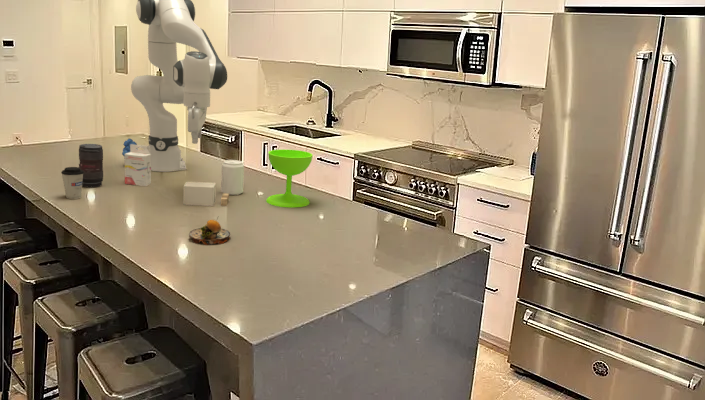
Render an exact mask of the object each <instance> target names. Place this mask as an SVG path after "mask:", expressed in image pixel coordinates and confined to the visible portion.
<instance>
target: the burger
mask: <svg viewBox="0 0 705 400" xmlns="http://www.w3.org/2000/svg"><path fill="white" fill-rule="evenodd" d="M218 219H219V217H217V218H216V220H215V219H209V220H208V221H206V224H205V225H204V226H203V225H202V227H200V228H199V227H198V228H196V229H195V228H194V229H192V230H190V231H189V233H188V235H189V236H188V237H189V238H192V243H193V244H194V243H195V244H197V245H198V244H200V242H201V243H203V245H205V246H209V245H210V246H212V245H213V244H214V245H215V244H219V245H221V244H224V243H225V242H226V243H227V242H228V241H230V240H231V237H230V235H231V232H230V231H229V230H227V229H225V228H222V226H221V224H220V222H218Z"/></svg>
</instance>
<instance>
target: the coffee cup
mask: <svg viewBox="0 0 705 400" xmlns="http://www.w3.org/2000/svg"><path fill="white" fill-rule="evenodd" d="M83 173H84V172H83V170H80V168H79V166H69V167H64V169H63V170H62V171H61V174H62V176H61V177H62V181H63V187H64V192H65V197H66V198H67V199H69V200H76V199H80V198H82V189H83V186H82V181H83Z"/></svg>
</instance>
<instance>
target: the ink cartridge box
mask: <svg viewBox="0 0 705 400" xmlns="http://www.w3.org/2000/svg"><path fill="white" fill-rule="evenodd" d="M151 183H152V170H151V154H150V146H149V145H143V144H137V145H133V144H130V152H129V153H126V154H125V159H124V184H125V185H131V186H132V185H133V186H139V187H147V186H148V185H151Z"/></svg>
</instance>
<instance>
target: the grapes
mask: <svg viewBox="0 0 705 400" xmlns="http://www.w3.org/2000/svg"><path fill="white" fill-rule="evenodd" d="M130 144H133V145H138V144H137V142H136V141H134V140H133V139H132V138H128V139H127V140H125V141H123V148H122V153H121V155H122V156H123V157H124V160H125V154H126V153H129V152H130Z"/></svg>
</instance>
